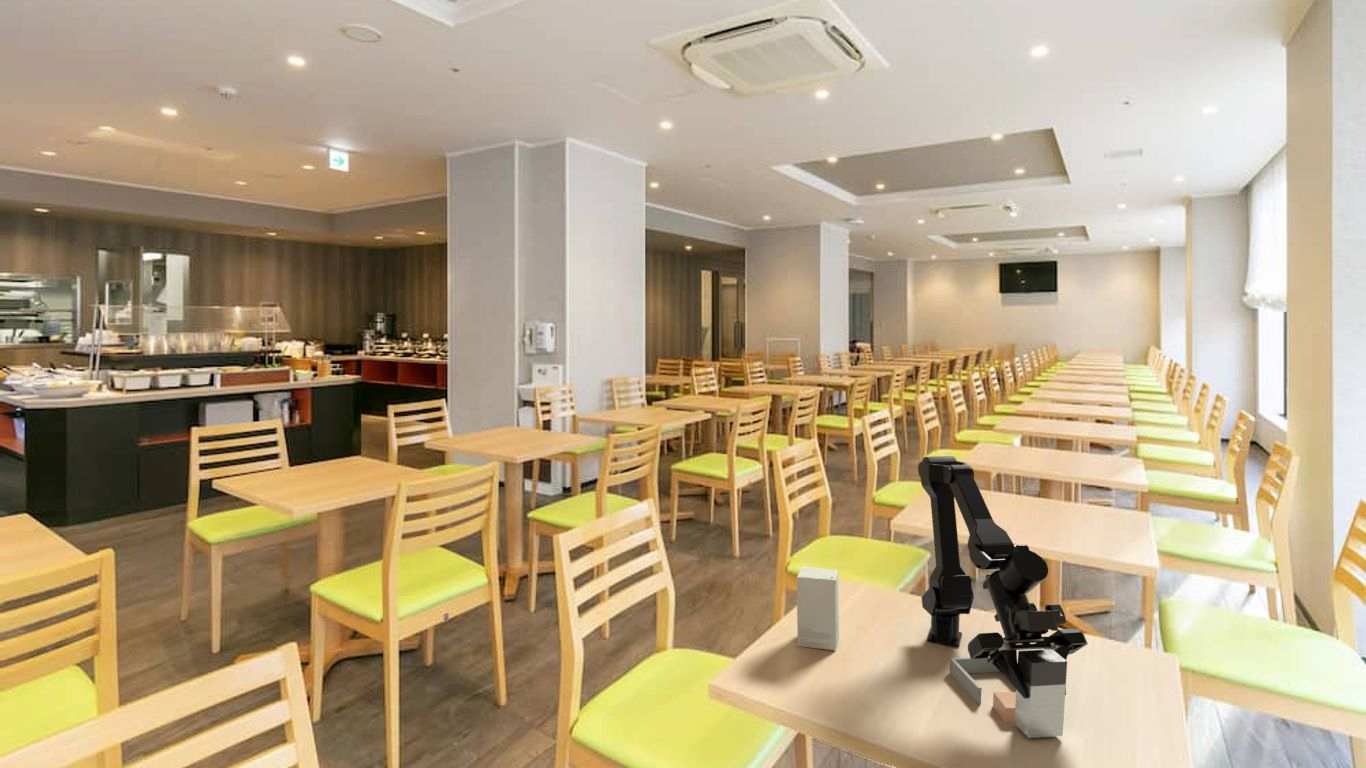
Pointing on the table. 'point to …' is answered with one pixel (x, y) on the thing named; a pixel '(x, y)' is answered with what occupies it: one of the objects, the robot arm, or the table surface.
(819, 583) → the skincare box
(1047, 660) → the gray capped pillar
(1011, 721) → the tan block
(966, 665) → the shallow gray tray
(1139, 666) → the table surface
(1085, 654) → the table surface
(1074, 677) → the table surface
